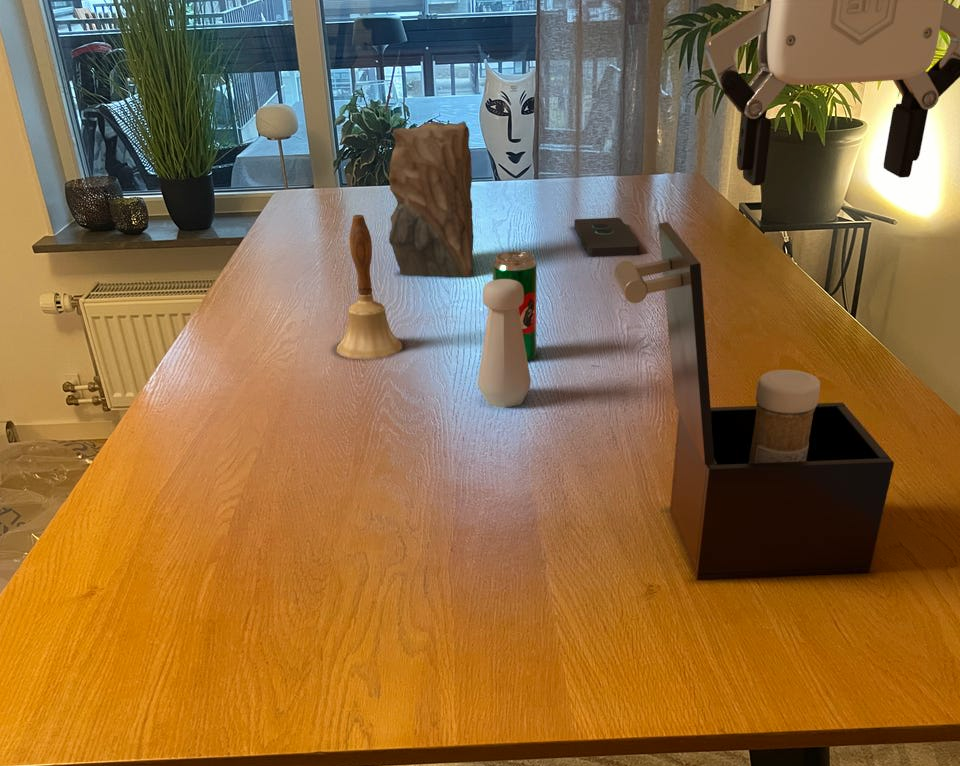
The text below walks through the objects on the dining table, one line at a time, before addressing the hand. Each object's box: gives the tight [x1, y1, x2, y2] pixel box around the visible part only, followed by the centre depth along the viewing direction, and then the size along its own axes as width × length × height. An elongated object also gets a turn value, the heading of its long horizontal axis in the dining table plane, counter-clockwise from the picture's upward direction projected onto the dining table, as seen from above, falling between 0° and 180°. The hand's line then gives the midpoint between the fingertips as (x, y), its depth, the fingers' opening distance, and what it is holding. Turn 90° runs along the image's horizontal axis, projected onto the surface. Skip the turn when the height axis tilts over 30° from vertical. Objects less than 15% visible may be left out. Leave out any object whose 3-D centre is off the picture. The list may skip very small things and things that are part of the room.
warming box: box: [669, 402, 895, 581], centre depth 81 cm, size 14×12×10 cm
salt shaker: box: [477, 279, 532, 409], centre depth 107 cm, size 6×6×13 cm
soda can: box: [492, 250, 538, 361], centre depth 118 cm, size 5×5×12 cm
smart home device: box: [573, 217, 640, 258], centre depth 166 cm, size 8×2×20 cm
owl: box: [388, 120, 474, 278], centre depth 150 cm, size 13×13×20 cm
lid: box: [614, 221, 714, 465], centre depth 74 cm, size 14×12×5 cm
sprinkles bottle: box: [748, 369, 821, 464], centre depth 79 cm, size 5×5×13 cm
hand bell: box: [336, 214, 403, 360], centre depth 121 cm, size 8×8×16 cm
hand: (824, 177), depth 68 cm, fingers open, 9 cm apart
